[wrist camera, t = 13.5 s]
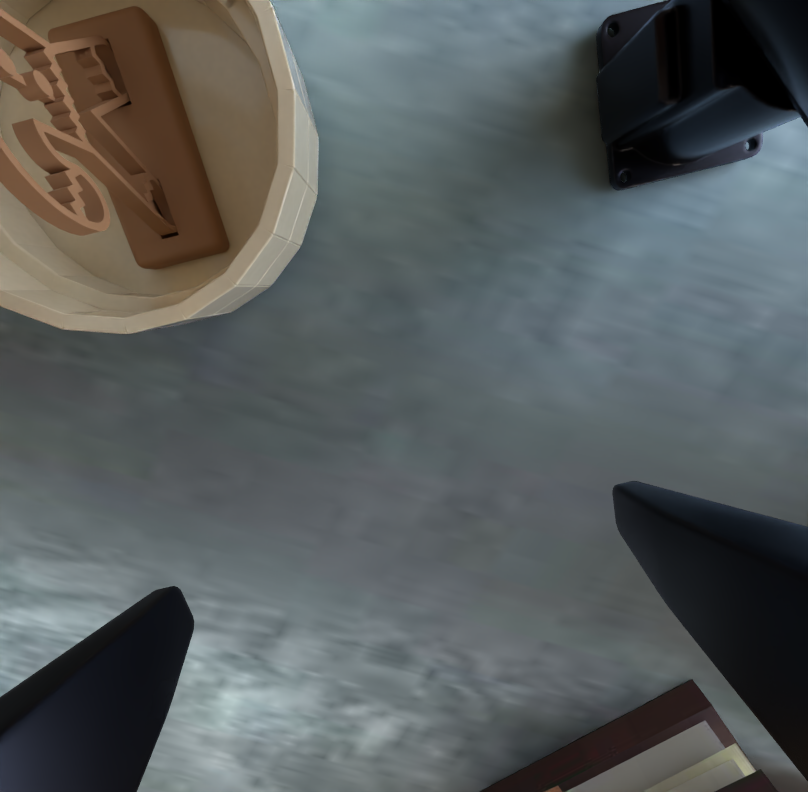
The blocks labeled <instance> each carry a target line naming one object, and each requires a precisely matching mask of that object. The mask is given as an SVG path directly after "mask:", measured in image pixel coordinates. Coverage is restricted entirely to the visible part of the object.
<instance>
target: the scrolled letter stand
mask: <svg viewBox="0 0 808 792" xmlns="http://www.w3.org/2000/svg"><path fill="white" fill-rule="evenodd" d="M0 36H1V37H3V38H4V39H6V40H8V41H9V42H11V43H12V44H14V45H15V46H17V47H18V48H20V49H22V50H23V51H25V52H26V54H25V56H24V58H25V59H26V61H27V62H28V63H29V64H30V66H31V67H32V68H33V70H32V71H29V72H26V73H22V74H18V73H16V68H15V66H14V64H13V62H12V60H11V59H10V57H9V56H8V55H7V54H6V53H5V52H4V51H3V50H2V49H1V48H0V80H1V81H3V82H5V83H7V84H8V85H10V86H12V87H14V88H16V89H17V90H18V91H19V93H20V94H21V95H22V96H23V97H24V98H25V99H26V100H28V101H31V102H32V101H36V100H39V101H41V102H43V103H44V107H45V108H46V109H47V110H48V112H49V113H50V114H51V115H52V116H53V117H52V119H51V121H50V122H51V123H52V124H53V126H54V127H55V128H56V129H55V128H53V127H50V126H48V125H46V124H44V123H42V122H40V121H38V120H36V119H33V118H32V119H28V120H24V121H21V122H17V123H13V124H12V127H13V130H14V133H15V135H16V137H17V139H18V141H19V143H20V144H21V146H22V147H23V149H24V150H25V152H26V153H27V154H28V155H29V156H30V158H31V159H32V160H33V161H34V162H35V163H36V164H37V165H38V166H39V167H41V168H42V169H43V170H45V171H46V172H48V173H49V174H51V175H48V176H45V179H46V180H47V181H48V183H49V184H50V186H51V187H52V189H53V190H52V191H50V192H48V193H47V192H46V191H45V190H44V189H43V188H42V187H41V186H40V185H39V184H38V183H37V182H36V181H35V180H34V179H33V178H32V177H31V176H30V175H29V173H28V172H27V171H26V170H25V169H24V168H23V166H22V165H21V164H20V163H19V161H18V160H17V159H16V157H15V156H14V155H13V154H12V152H11V151H10V149H9V148H8V146H7V145H6V143H5V142H4V140H3V139H2V137H1V136H0V182H1V183H2V184H3V185H4V186H5V188H6V189H7V190H8V191H9V192H10V193H12V194H13V195H14V196H15V197H16V198H17V199H18V200H19V201H20V202H21V203H22V204H24V205H25V206H26V207H27V208H29V209H30V210H31V211H32V212H34V213H35V214H36V215H38V216H39V217H41V218H42V219H43V220H45V221H46V222H48V223H50V224H52V225H53V226H55V227H57V228H59V229H61V230H63V231H66V232H68V233H71V234H75V235H79V236H85V235H89V234H92V233H96V232H100V231H104V230H106V229H107V228H108V227H109V224H110V213H109V209H108V206H107V203H106V201H105V199H104V197H103V195H102V193H101V191H100V190H99V188H98V187H97V185H96V184H95V183H94V181H93V180H92V179H91V178H90V176H89V175H88V174H87V173H86V172H85V171H84V170H82V169H81V168H80V167H79V166H77V165H76V164H74V163H72V162H70V161H68V160H66V159H65V158H63V157H62V156H61V155H60V154H59V153H58V152H57V151H59V152H61V153H64V154H66V155H69V156H71V157H74V158H76V159H77V160H78V161H79V162H80V163H81V164H82V165H83V166H84V167H86V168H87V169H88V170H89V171H90V172H91V173H92V174H93V175H94V176H95V177H96V178H97V179H98V180H100V181H101V182H102V183H103V184H104V185H105V186H106V187H107V190H108V192H109V195H110V197H111V200H112V203H113V205H114V208H115V210H116V213H117V215H118V218H119V220H120V223H121V225H122V228H123V230H124V233H125V236H126V238H127V241H128V243H129V246H130V248H131V251H132V253H133V256H134V258H135V261H136V263H137V264H138V266H140V267H141V268H144V269H154V270H156V269H161V268H165V267H169V266H172V265H176V264H180V263H184V262H188V261H192V260H196V259H200V258H204V257H208V256H212V255H216V254H219V253H223V252H226V251H227V250H228V249H229V240H228V237H227V234H226V231H225V228H224V225H223V222H222V219H221V216H220V213H219V210H218V207H217V204H216V201H215V198H214V195H213V192H212V189H211V186H210V183H209V180H208V177H207V174H206V171H205V168H204V165H203V162H202V159H201V156H200V153H199V150H198V147H197V144H196V141H195V138H194V135H193V132H192V129H191V126H190V123H189V120H188V117H187V114H186V111H185V108H184V105H183V102H182V99H181V96H180V93H179V90H178V87H177V84H176V81H175V78H174V75H173V72H172V69H171V66H170V63H169V60H168V57H167V54H166V51H165V48H164V45H163V42H162V39H161V36H160V33H159V30H158V27H157V25H156V23H155V22H154V21H153V20H152V19H151V17H150V16H149V15H148V14H147V13H146V12H145V11H144V10H143V9H141V8H140V7H137V6H131V7H127V8H124V9H120V10H117V11H113V12H109V13H106V14H102V15H99V16H95V17H91V18H88V19H84V20H81V21H77V22H73V23H70V24H66V25H63V26H59V27H56V28H52V29H50V30H49V31H48V40H49V42H47V41H46V40H44V39H43V38H42V37H40V36H39V35H37V34H36V33H35V32H33V31H32V30H30V29H29V28H28V27H26V26H25V25H23V24H22V23H21V22H19V21H18V20H16V19H15V18H14V17H12V16H11V15H9V14H8V13H7V12H5V11H4V10H2V9H1V8H0ZM54 56H55V58H56V60H57V63H58V64H57V63H56V62H55V60H54V59H53V58H54ZM58 65H59V66H58ZM60 73H62V76H63V78H64V80H63V78H62V77H61V76H60ZM67 88H68V91H69V93H70V95H69V94H68V93H67V91H66V89H67ZM73 104H74V106H75V109H76V110H75V109H74V108H73V107H72V105H73ZM76 111H77V112H76ZM78 121H79V122H80V123H81V124H82V126H83V127H82V126H81V124H80V123H79V122H78ZM85 134H86V137H87V139H88V141H87V139H86V138H85V137H84V135H85ZM56 150H57V151H56ZM82 207H83V208H84V210H85V214H86V216H85V215H84V213H83V212H82V210H81V209H80V208H82Z"/></svg>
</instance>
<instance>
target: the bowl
mask: <svg viewBox="0 0 808 792" xmlns="http://www.w3.org/2000/svg"><path fill="white" fill-rule="evenodd" d="M131 6H137V7H140V8H141V9H143V10H144V11H145V12H146V13H147V14H148V15H149V16H150V17H151V19H152V20H153V21H154V22H155V23H156V25H157V27H158V30H159V33H160V36H161V39H162V42H163V45H164V48H165V51H166V54H167V57H168V60H169V63H170V66H171V69H172V72H173V75H174V78H175V81H176V84H177V87H178V90H179V93H180V96H181V99H182V102H183V105H184V108H185V111H186V114H187V117H188V120H189V123H190V126H191V129H192V132H193V135H194V138H195V141H196V144H197V147H198V150H199V153H200V156H201V159H202V162H203V165H204V168H205V171H206V174H207V177H208V180H209V183H210V186H211V189H212V192H213V195H214V198H215V201H216V204H217V207H218V210H219V213H220V216H221V219H222V222H223V225H224V228H225V231H226V234H227V237H228V240H229V249H228V250H227V251H226V252H223V253H219V254H216V255H212V256H208V257H204V258H200V259H196V260H192V261H188V262H184V263H180V264H176V265H172V266H169V267H165V268H161V269H156V270H154V269H144V268H141V267H140V266H138V264H137V263H136V261H135V258H134V256H133V253H132V251H131V248H130V246H129V243H128V241H127V238H126V236H125V233H124V230H123V228H122V225H121V223H120V220H119V218H118V215H117V213H116V210H115V208H114V205H113V203H112V200H111V197H110V195H109V192H108V190H107V187H106V186H105V185H104V184H103V183H102V182H101V181H100V180H98V179H97V178H96V177H95V176H94V175H93V174H92V173H91V172H90V171H89V170H88V169H87V168H86V167H84V166H83V165H82V164H81V163H80V162H79V161H78V160H77V159H76V158H74V157H71V156H69V155H66V154H64V153H61V152H59V151H57V150H56V151H57V152H58V153H59V154H60V155H61V156H62V157H63V158H65V159H66V160H68V161H70V162H72V163H74V164H76V165H77V166H79V167H80V168H81V169H82V170H84V171H85V172H86V173H87V174H88V175H89V176H90V178H91V179H92V180H93V181H94V183H95V184H96V185H97V187H98V188H99V190H100V191H101V193H102V195H103V197H104V199H105V201H106V203H107V206H108V209H109V213H110V224H109V227H108V228H107V229H106V230H104V231H100V232H96V233H92V234H89V235H85V236H79V235H75V234H71V233H68V232H66V231H63V230H61V229H59V228H57V227H55V226H53V225H52V224H50V223H48V222H46V221H45V220H43V219H42V218H41V217H39V216H38V215H36V214H35V213H34V212H32V211H31V210H30V209H29V208H27V207H26V206H25V205H24V204H22V203H21V202H20V201H19V200H18V199H17V198H16V197H15V196H14V195H13V194H12V193H10V192H9V191H8V190H7V189H6V188H5V186H4V185H3V184H2V183H1V182H0V306H1V307H3V308H6V309H9V310H11V311H14V312H17V313H19V314H22V315H25V316H28V317H30V318H33V319H36V320H38V321H41V322H44V323H46V324H49V325H52V326H54V327H57V328H60V329H65V330H74V331H87V332H101V333H114V334H133V333H138V332H144V331H149V330H155V329H160V328H166V327H172V326H177V325H183V324H188V323H192V322H196V321H200V320H204V319H208V318H212V317H216V316H220V315H224V314H228V313H231V312H233V311H235V310H236V309H238V308H239V307H241V306H242V305H244V304H245V303H247V302H248V301H250V300H251V299H253V298H254V297H256V296H257V295H259V294H260V293H262V292H263V291H265V290H266V289H268V288H269V287H270V286H272V285H273V283H274V282H275V281H276V279H277V278H278V277H279V275H280V274H281V273H282V271H283V270H284V269H285V267H286V266H287V265H288V263H289V262H290V261H291V259H292V258H293V257H294V255H295V254H296V253H297V251H298V250H299V249H300V246H301V245H302V242H303V239H304V236H305V233H306V230H307V226H308V223H309V220H310V217H311V214H312V211H313V208H314V205H315V202H316V199H317V196H316V195H317V194H318V153H319V139H318V132H317V128H316V125H315V121H314V117H313V113H312V109H311V105H310V102H309V98H308V94H307V90H306V86H305V82H304V79H303V76H302V74H301V71H300V69H299V67H298V64H297V62H296V59H295V57H294V55H293V52H292V50H291V48H290V46H289V43H288V41H287V38H286V36H285V34H284V31H283V29H282V27H281V24H280V22H279V19H278V17H277V15H276V12H275V10H274V8H273V5H272V3H271V2H270V0H0V8H1V9H2V10H4V11H5V12H7V13H8V14H9V15H11V16H12V17H14V18H15V19H16V20H18V21H19V22H21V23H22V24H23V25H25V26H26V27H28V28H29V29H30V30H32V31H33V32H35V33H36V34H37V35H39V36H40V37H42V38H43V39H44V40H46V41H47V42H49V40H48V31H49V30H50V29H52V28H56V27H59V26H63V25H66V24H70V23H73V22H77V21H81V20H84V19H88V18H91V17H95V16H99V15H102V14H106V13H109V12H113V11H117V10H120V9H124V8H127V7H131ZM0 48H1V49H2V50H3V51H4V52H5V53H6V54H7V55H8V56H9V57H10V59H11V60H12V62H13V64H14V66H15V68H16V73H18V74H22V73H26V72H29V71H32V70H33V68H32V67H31V66H30V64H29V63H28V62H27V61H26V59H25V58H24V56H25V54H26V52H25V51H23V50H22V49H20V48H18V47H17V46H15V45H14V44H12V43H11V42H9V41H8V40H6V39H4V38H3V37H1V36H0ZM53 59H54V60H55V62H56V63H57V60H56V58H55V56H54V58H53ZM57 64H58V63H57ZM58 66H59V65H58ZM60 76H61V77H62V78H63V76H62V73H60ZM63 80H64V78H63ZM66 91H67V93H68V94H69V95H70V93H69V91H68V88H67V89H66ZM72 107H73V108H74V109H75V106H74V104H73V105H72ZM75 110H76V109H75ZM76 112H77V111H76ZM52 117H53V116H52V115H51V114H50V113H49V112H48V110H47V109H46V108H45V107H44V103H43V102H41V101H39V100H36V101H32V102H31V101H28V100H26V99H25V98H24V97H23V96H22V95H21V94H20V93H19V91H18V90H17V89H16V88H14V87H12V86H10V85H8V84H7V83H5V82H3V81H1V80H0V136H1V137H2V139H3V140H4V142H5V143H6V145H7V146H8V148H9V149H10V151H11V152H12V154H13V155H14V156H15V157H16V159H17V160H18V161H19V163H20V164H21V165H22V166H23V168H24V169H25V170H26V171H27V172H28V173H29V175H30V176H31V177H32V178H33V179H34V180H35V181H36V182H37V183H38V184H39V185H40V186H41V187H42V188H43V189H44V190H45V191H46V192H47V193H48V192H50V191H52V190H53V189H52V187H51V186H50V184H49V183H48V181H47V180H46V179H45V176H48V175H51V174H49V173H48V172H46V171H45V170H43V169H42V168H41V167H39V166H38V165H37V164H36V163H35V162H34V161H33V160H32V159H31V158H30V156H29V155H28V154H27V153H26V152H25V150H24V149H23V147H22V146H21V144H20V143H19V141H18V139H17V137H16V135H15V133H14V130H13V127H12V124H13V123H17V122H21V121H24V120H28V119H32V118H33V119H36V120H38V121H40V122H42V123H44V124H46V125H48V126H50V127H53V128H55V127H54V126H53V124H52V123H51V122H50V121H51V119H52ZM78 122H79V121H78ZM79 123H80V122H79ZM80 124H81V123H80ZM81 126H82V124H81ZM82 127H83V126H82ZM55 129H56V128H55ZM84 137H85V138H86V139H87V137H86V134H85V135H84ZM87 141H88V139H87ZM80 209H81V210H82V212H83V213H84V215H85V216H86V214H85V210H84V208H83V207H82V208H80Z"/></svg>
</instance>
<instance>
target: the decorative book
mask: <svg viewBox="0 0 808 792" xmlns="http://www.w3.org/2000/svg"><path fill="white" fill-rule="evenodd" d="M481 792H778V791H777V790H776V789H775V787H774V786H773V785H772V783H771V782H770V781H769V779H768V778H767V777H766V775H765V774H764V773H763V772H762V770H761V769H760V770H758V771H756V770H755V768H754V767H753V765H752V764H751V763H750V761H749V760H748V758H747V757H746V755H745V754H744V752H743V751H742V749H741V748H740V746H739V745H738V743H737V742H736V740H735V739H734V737H733V736H732V734H731V733H730V731H729V730H728V728H727V727H726V725H725V724H724V722H723V721H722V720H721V718H720V717H719V715H718V714H717V712H716V711H715V709H714V708H713V706H712V705H711V703H710V702H709V701H708V700H707V698H706V697H705V696H704V694H703V693H702V692H701V690H700V689H699V688H698V686H697V685H696V684H695V683H694V681H693V680H690V681H689V682H687V683H685V684H683V685H681V686H679V687H677V688H675V689H673V690H672V691H670V692H668V693H666V694H664V695H662V696H660V697H658V698H656V699H655V700H653V701H651V702H649V703H647V704H645V705H643V706H641V707H639V708H638V709H636V710H634V711H632V712H630V713H628V714H626V715H624V716H622V717H621V718H619V719H617V720H615V721H613V722H611V723H609V724H607V725H605V726H604V727H602V728H600V729H598V730H596V731H594V732H592V733H590V734H588V735H586V736H585V737H583V738H581V739H579V740H577V741H575V742H573V743H571V744H569V745H568V746H566V747H564V748H562V749H560V750H558V751H556V752H554V753H552V754H551V755H549V756H547V757H545V758H543V759H541V760H539V761H537V762H535V763H534V764H532V765H530V766H528V767H526V768H524V769H522V770H520V771H518V772H517V773H515V774H513V775H511V776H509V777H507V778H505V779H503V780H501V781H499V782H498V783H496V784H494V785H492V786H490V787H488V788H486V789H484V790H482V791H481Z"/></svg>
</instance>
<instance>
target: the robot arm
mask: <svg viewBox="0 0 808 792" xmlns="http://www.w3.org/2000/svg"><path fill="white" fill-rule="evenodd" d="M607 28H611V29H612V30H613V31H614V37H610V36H609V35H608V33H607ZM596 41H597V51H598V62H599V72H600V73H599V74H598V76H597V90H598V100H599V111H600V121H601V131H602V140H603V141H604V142H605V143H606V145H607V156H608V166H609V177H610V183H611V186H612V187H613V188H614V189H615V190H625V189H629V188H633V187H637V186H641V185H645V184H649V183H653V182H657V181H661V180H665V179H669V178H673V177H677V176H681V175H685V174H689V173H693V172H697V171H701V170H705V169H709V168H713V167H717V166H721V165H725V164H729V163H733V162H737V161H740V160H744V159H747V158H750V157H752V156H754V155H756V154H757V153H758V152H759V151H760V149H761V147H762V142H763V132H765V131H768V130H770V129H773V128H775V127H777V126H780V125H782V124H785V123H787V122H789V121H792V120H794V119H797V118H799V117H801V118H802V119H803V121H804V122H805V124H806V125H807V126H808V0H667V1H663V2H660V3H656V4H652V5H648V6H645V7H641V8H637V9H633V10H630V11H626V12H622V13H618V14H615V15H611V16H609V17H608V18H607V19H606V20H605V21H604V22H603V23H602V25H601V26H600V27H599V29H598V31H597V36H596ZM746 142H748V143H749V149H748V150H747V149H746V147H745V144H746ZM622 172H624V173H625V174H626V176H627V178H626V181H625V182H622V181H621V179H620V174H621V173H622ZM613 501H614V510H615V518H616V524H617V527H618V530H619V532H620V534H621V536H622V537H623V539H624V540H625V542H626V543H627V545H628V546H629V548H630V549H631V551H632V553H633V554H634V556H635V557H636V559H637V560H638V562H639V563H640V565H641V566H642V568H643V570H644V571H645V573H646V574H647V576H648V577H649V579H650V580H651V582H652V583H653V585H654V587H655V588H656V590H657V591H658V593H659V594H660V596H661V597H662V599H663V600H664V601H665V603H666V604H667V606H668V607H669V608H670V609H671V611H672V612H673V613H674V615H675V616H676V617H677V618H678V620H679V621H680V622H681V623H682V625H683V626H684V627H685V628H686V630H687V631H688V632H689V633H690V635H691V636H692V637H693V638H694V640H695V641H696V642H697V643H698V645H699V646H700V647H701V648H702V650H703V651H704V652H705V653H706V655H707V656H708V657H709V658H710V660H711V661H712V662H713V664H714V665H715V666H716V667H717V669H718V670H719V671H720V672H721V674H722V675H723V676H724V677H725V679H726V680H727V681H728V682H729V684H730V685H731V686H732V687H733V689H734V690H735V691H736V692H737V694H738V695H739V696H740V697H741V699H742V700H743V701H744V702H745V704H746V705H747V706H748V707H749V709H750V710H751V711H752V712H753V714H754V715H755V716H756V717H757V719H758V720H759V721H760V722H761V724H762V725H763V726H764V727H765V729H766V730H767V731H768V732H769V734H770V735H771V736H772V737H773V739H774V740H775V741H776V742H777V744H778V745H779V746H780V747H781V749H782V750H783V751H784V752H785V754H786V755H787V756H788V757H789V759H790V760H791V761H792V762H793V764H794V765H795V766H796V767H797V769H798V770H799V771H800V772H801V774H802V775H803V776H804V777H805V779H806V780H807V781H808V527H806V526H803V525H799V524H795V523H791V522H788V521H784V520H780V519H776V518H773V517H769V516H765V515H761V514H758V513H754V512H750V511H746V510H743V509H739V508H735V507H731V506H728V505H724V504H720V503H716V502H713V501H709V500H705V499H701V498H698V497H694V496H690V495H687V494H683V493H679V492H675V491H672V490H668V489H664V488H660V487H657V486H653V485H649V484H645V483H642V482H638V481H630V482H626V483H622V484H617V485H615V486H614V488H613ZM193 630H194V619H193V615H192V613H191V611H190V609H189V607H188V605H187V602H186V600H185V598H184V596H183V594H182V592H181V590H180V589H179V588H178V587H175V586H172V587H167V588H163V589H158V590H155V591H153V592H152V593H150V594H149V595H147V596H146V597H145V598H143V599H142V600H140V601H139V602H137V603H136V604H134V605H133V606H132V607H130V608H129V609H127V610H126V611H124V612H123V613H121V614H120V615H119V616H117V617H116V618H114V619H113V620H111V621H110V622H108V623H107V624H105V625H104V626H103V627H101V628H100V629H98V630H97V631H95V632H94V633H92V634H91V635H90V636H88V637H87V638H85V639H84V640H82V641H81V642H79V643H78V644H77V645H75V646H74V647H72V648H71V649H69V650H68V651H66V652H65V653H64V654H62V655H61V656H59V657H58V658H56V659H55V660H53V661H52V662H50V663H49V664H48V665H46V666H45V667H43V668H42V669H40V670H39V671H37V672H36V673H35V674H33V675H32V676H30V677H29V678H27V679H26V680H24V681H23V682H22V683H20V684H19V685H17V686H16V687H14V688H13V689H11V690H10V691H8V692H7V693H6V694H4V695H3V696H1V697H0V792H137V790H138V787H139V785H140V782H141V780H142V777H143V775H144V772H145V770H146V767H147V765H148V762H149V760H150V757H151V755H152V752H153V750H154V747H155V745H156V742H157V740H158V737H159V734H160V732H161V729H162V727H163V724H164V722H165V719H166V716H167V714H168V711H169V708H170V705H171V702H172V699H173V696H174V692H175V689H176V686H177V683H178V679H179V676H180V673H181V670H182V666H183V663H184V660H185V656H186V653H187V650H188V647H189V643H190V640H191V637H192V634H193Z"/></svg>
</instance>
